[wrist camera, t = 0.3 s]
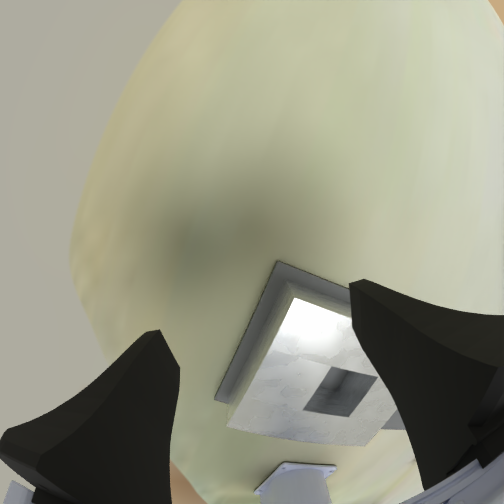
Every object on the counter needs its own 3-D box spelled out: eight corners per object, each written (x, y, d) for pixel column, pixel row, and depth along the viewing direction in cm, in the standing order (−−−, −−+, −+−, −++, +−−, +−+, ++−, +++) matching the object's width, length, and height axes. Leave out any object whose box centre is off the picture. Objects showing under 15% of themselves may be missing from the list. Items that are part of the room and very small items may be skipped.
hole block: (353, 420, 23) (364, 446, 19) (228, 395, 22) (226, 426, 18) (416, 328, 21) (439, 347, 17) (284, 278, 20) (294, 298, 16)
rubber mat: (426, 427, 25) (428, 429, 25) (214, 396, 22) (214, 399, 22) (484, 343, 23) (486, 344, 23) (277, 260, 20) (278, 261, 20)
